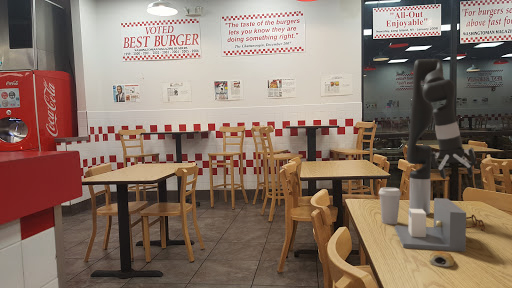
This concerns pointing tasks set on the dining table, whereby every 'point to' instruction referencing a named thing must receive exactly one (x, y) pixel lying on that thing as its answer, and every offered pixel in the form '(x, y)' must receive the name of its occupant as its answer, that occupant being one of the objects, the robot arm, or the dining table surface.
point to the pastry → (441, 259)
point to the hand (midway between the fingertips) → (457, 177)
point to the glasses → (476, 223)
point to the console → (439, 229)
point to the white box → (417, 223)
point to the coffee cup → (389, 204)
